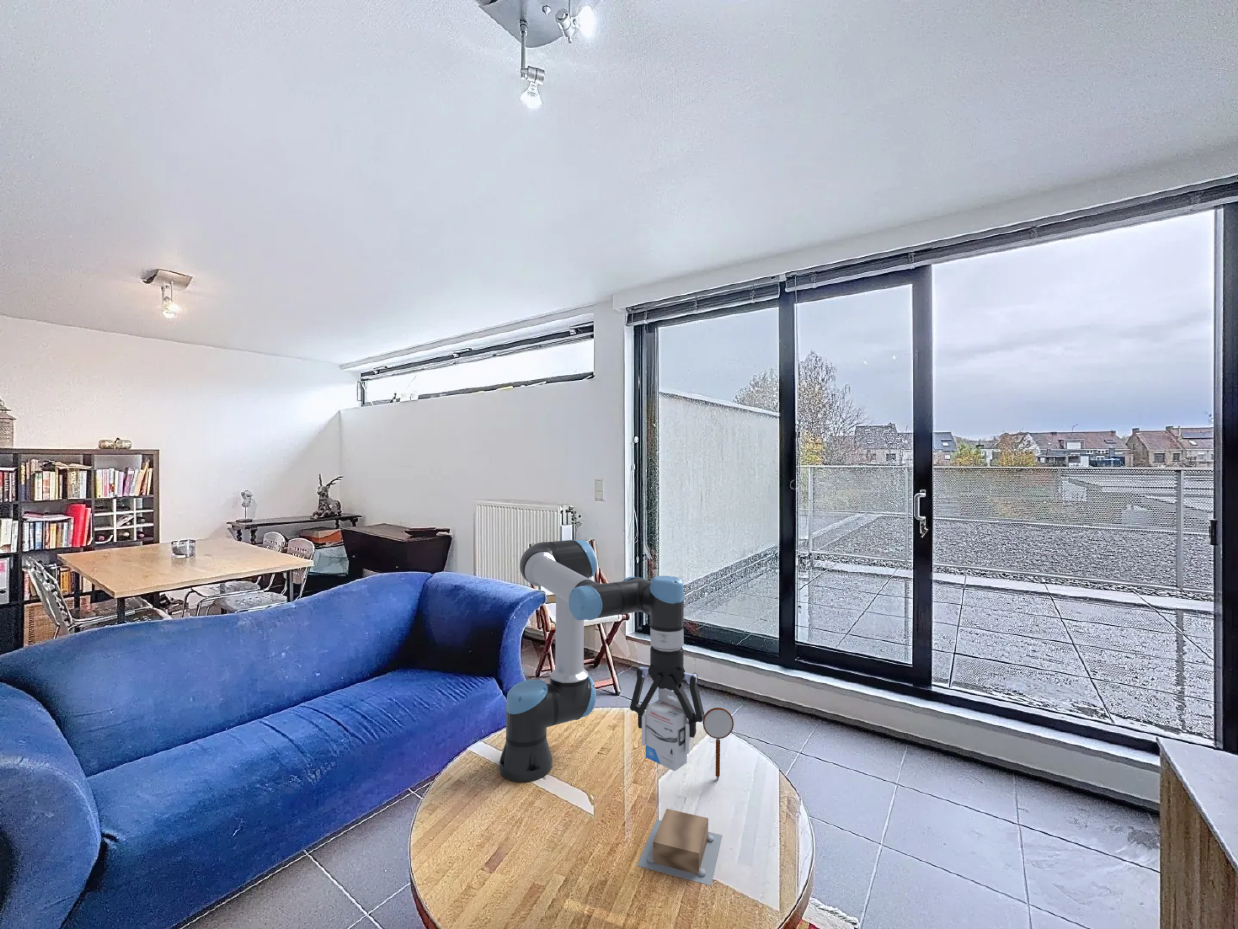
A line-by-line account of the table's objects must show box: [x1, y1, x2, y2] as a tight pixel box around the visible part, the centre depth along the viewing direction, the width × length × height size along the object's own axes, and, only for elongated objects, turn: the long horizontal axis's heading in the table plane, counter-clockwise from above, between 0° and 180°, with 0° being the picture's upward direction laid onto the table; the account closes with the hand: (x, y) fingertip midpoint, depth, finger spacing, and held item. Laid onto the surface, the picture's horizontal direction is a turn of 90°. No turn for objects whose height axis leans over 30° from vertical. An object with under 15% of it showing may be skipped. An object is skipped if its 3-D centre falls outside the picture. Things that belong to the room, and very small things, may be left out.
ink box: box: [645, 688, 688, 772], centre depth 119 cm, size 8×5×15 cm, turn 47°
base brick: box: [653, 808, 709, 874], centre depth 119 cm, size 10×12×4 cm
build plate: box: [636, 819, 723, 886], centre depth 119 cm, size 16×16×2 cm
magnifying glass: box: [702, 707, 735, 780], centre depth 148 cm, size 9×2×20 cm, turn 87°
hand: (666, 746), depth 119 cm, fingers closed on ink box, 9 cm apart
